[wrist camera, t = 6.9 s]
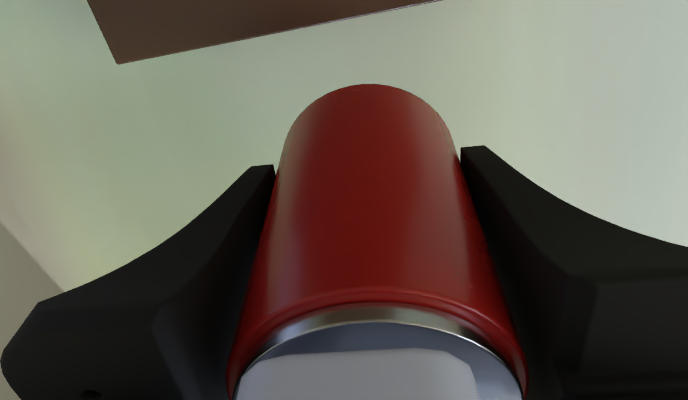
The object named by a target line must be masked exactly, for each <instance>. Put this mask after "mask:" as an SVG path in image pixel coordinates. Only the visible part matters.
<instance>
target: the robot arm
mask: <svg viewBox="0 0 688 400" xmlns="http://www.w3.org/2000/svg"><path fill="white" fill-rule="evenodd" d="M460 164H461V167H462V170H463V173H464V176H465V179H466V182H467V185H468V188H469V191H470V194H471V197H472V200H473V202H474V205H475V208H476V211H477V214H478V217H479V220H480V223H481V226H482V229H483V232H484V235H485V238H486V241H487V244H488V247H489V250H490V253H491V256H492V259H493V262H494V265H495V268H496V270H497V273H498V276H499V279H500V282H501V285H502V288H503V291H504V294H505V297H506V300H507V303H508V306H509V309H510V312H511V315H512V318H513V321H514V324H515V327H516V330H517V333H518V335H519V338H520V341H521V344H522V347H523V350H524V353H525V356H526V359H527V362H528V366H529V375H530V379H529V388H528V394H527V397H526V400H688V247H685V246H681V245H677V244H673V243H669V242H666V241H662V240H659V239H656V238H652V237H649V236H646V235H643V234H640V233H637V232H634V231H631V230H628V229H625V228H622V227H620V226H617V225H615V224H612V223H610V222H607V221H605V220H602V219H600V218H597V217H595V216H593V215H591V214H588V213H586V212H584V211H582V210H580V209H578V208H576V207H574V206H572V205H570V204H568V203H566V202H565V201H563V200H561V199H559V198H557V197H556V196H554V195H552V194H551V193H549V192H548V191H546V190H544V189H543V188H541V187H540V186H538V185H537V184H535V183H534V182H532V181H531V180H529V179H528V178H526V177H525V176H524V175H522V174H521V173H519V172H518V171H517V170H515V169H514V168H513V167H511V166H510V165H509V164H508V163H506V162H505V161H504V160H502V159H501V158H500V157H499V156H497V155H496V154H495V153H494V152H492V151H491V150H490V149H488V148H487V147H486V146H484V145H483V146H472V147H461V156H460ZM275 177H276V175H275V170H274V166H273V164H272V165H261V166H251V167H250V168H249V169H248V170H247V171H245V172H244V173H243V174H242V175H241V176H240V177H239V178H238V179H237V180H236V181H235V182H234V183H233V184H232V185H231V186H230V187H229V188H228V189H227V190H226V191H225V192H224V193H223V194H222V195H221V196H220V197H219V198H218V199H216V200H215V201H214V202H213V203H212V204H211V205H210V206H209V207H208V208H206V209H205V210H204V211H203V212H202V213H201V214H199V215H198V216H197V217H196V218H195V219H194V220H192V221H191V222H190V223H189V224H188V225H186V226H185V227H184V228H182V229H181V230H180V231H178V232H177V233H176V234H174V235H173V236H171V237H170V238H169V239H167V240H166V241H164V242H163V243H161V244H160V245H158V246H157V247H155V248H153V249H152V250H150V251H148V252H147V253H145V254H143V255H141V256H140V257H138V258H136V259H135V260H133V261H131V262H130V263H128V264H126V265H124V266H122V267H120V268H118V269H116V270H114V271H112V272H110V273H108V274H106V275H104V276H102V277H100V278H98V279H95V280H93V281H91V282H89V283H87V284H84V285H82V286H80V287H77V288H74V289H72V290H69V291H67V292H64V293H62V294H59V295H57V296H54V297H52V298H49V299H46V300H43V301H41V302H38V303H37V305H36V306H35V307H34V309H33V310H32V311H31V313H30V314H29V316H28V317H27V318H26V320H25V321H24V323H23V324H22V325H21V327H20V328H19V330H18V331H17V332H16V334H15V335H14V336H13V338H12V339H11V340H10V342H9V343H8V345H7V346H6V347H5V349H4V350H3V353H2V356H1V360H0V363H1V368H2V373H3V375H4V377H5V378H6V380H7V382H8V383H9V385H10V386H11V388H12V389H13V390H14V391H15V393H16V394H17V395H18V396H19V398H21V400H229V398H228V394H227V390H226V386H225V371H226V366H227V360H228V357H229V353H230V349H231V345H232V341H233V338H234V334H235V330H236V326H237V322H238V318H239V315H240V311H241V307H242V303H243V299H244V296H245V292H246V288H247V284H248V280H249V276H250V273H251V269H252V265H253V261H254V257H255V254H256V250H257V246H258V242H259V238H260V234H261V231H262V227H263V223H264V219H265V215H266V212H267V208H268V204H269V200H270V196H271V192H272V189H273V185H274V181H275ZM236 400H480V397H479V392H478V388H477V384H476V381H475V378H474V376H473V373H472V371H471V368H470V366H469V365H468V364H467V363H465V362H463V361H462V360H460V359H458V358H456V357H455V356H453V355H451V354H450V353H448V352H445V351H441V350H433V349H424V348H400V349H382V350H364V351H346V352H328V353H310V354H292V355H284V356H280V357H276V358H272V359H268V360H263V361H260V362H258V363H257V364H255V365H254V366H253V367H252V368H251V369H250V370H249V371H248V372H247V373H245V374H244V375H243V376H242V377H241V382H240V386H239V391H238V395H237V399H236Z"/></svg>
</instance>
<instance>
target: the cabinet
mask: <svg viewBox="0 0 688 400" xmlns="http://www.w3.org/2000/svg"><path fill="white" fill-rule="evenodd" d="M436 1H441V0H87V2H88V4H89V6H90V8H91V10H92V12H93V14H94V16H95V19H96V21H97V23H98V25H99V27H100V29H101V31H102V34H103V36H104V38H105V40H106V42H107V44H108V46H109V49H110V51H111V53H112V55H113V57H114V59H115V61H116V63H117V64H124V63H129V62H134V61H139V60H144V59H149V58H154V57H159V56H164V55H169V54H174V53H179V52H184V51H189V50H195V49H200V48H205V47H210V46H215V45H220V44H225V43H230V42H235V41H240V40H245V39H250V38H255V37H260V36H265V35H270V34H275V33H280V32H285V31H290V30H295V29H300V28H305V27H310V26H315V25H320V24H325V23H330V22H335V21H340V20H346V19H351V18H356V17H361V16H366V15H371V14H376V13H381V12H386V11H391V10H396V9H401V8H406V7H411V6H416V5H421V4H426V3H431V2H436Z"/></svg>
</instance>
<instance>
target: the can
mask: <svg viewBox="0 0 688 400" xmlns="http://www.w3.org/2000/svg"><path fill="white" fill-rule="evenodd" d="M400 348H424V349H433V350H441V351H445V352H448V353H450V354H451V355H453V356H455V357H456V358H458V359H460V360H462V361H463V362H465V363H467V364H468V365H469V366H470V368H471V371H472V373H473V376H474V378H475V381H476V384H477V388H478V392H479V397H480V400H526V397H527V394H528V388H529V379H530V375H529V366H528V362H527V359H526V356H525V353H524V350H523V347H522V344H521V341H520V338H519V335H518V333H517V330H516V327H515V324H514V321H513V318H512V315H511V312H510V309H509V306H508V303H507V300H506V297H505V294H504V291H503V288H502V285H501V282H500V279H499V276H498V273H497V270H496V268H495V265H494V262H493V259H492V256H491V253H490V250H489V247H488V244H487V241H486V238H485V235H484V232H483V229H482V226H481V223H480V220H479V217H478V214H477V211H476V208H475V205H474V202H473V200H472V197H471V194H470V191H469V188H468V185H467V182H466V179H465V176H464V173H463V170H462V167H461V164H460V161H459V158H458V155H457V152H456V149H455V146H454V143H453V140H452V138H451V135H450V132H449V130H448V128H447V126H446V124H445V122H444V121H443V120H442V118H441V117H440V115H439V114H438V113H437V112H436V111H435V110H434V109H433V108H432V107H431V106H430V105H429V104H427V103H426V102H425V101H423V100H422V99H421V98H419V97H417V96H415V95H413V94H412V93H410V92H407V91H404V90H402V89H399V88H395V87H391V86H387V85H379V84H361V85H353V86H348V87H344V88H340V89H337V90H335V91H332V92H330V93H327V94H326V95H324V96H322V97H320V98H319V99H317V100H316V101H314V102H313V103H312V104H310V105H309V106H308V107H307V108H306V109H305V110H304V111H303V112H302V113H301V114H300V115H299V116H298V117H297V119H296V120H295V121H294V123H293V125H292V126H291V128H290V130H289V132H288V134H287V137H286V140H285V143H284V147H283V150H282V154H281V158H280V162H279V166H278V170H277V173H276V177H275V181H274V185H273V189H272V192H271V196H270V200H269V204H268V208H267V212H266V215H265V219H264V223H263V227H262V231H261V234H260V238H259V242H258V246H257V250H256V254H255V257H254V261H253V265H252V269H251V273H250V276H249V280H248V284H247V288H246V292H245V296H244V299H243V303H242V307H241V311H240V315H239V318H238V322H237V326H236V330H235V334H234V338H233V341H232V345H231V349H230V353H229V357H228V360H227V366H226V371H225V386H226V390H227V394H228V398H229V400H236V399H237V395H238V391H239V386H240V382H241V377H242V376H243V375H244V374H245V373H247V372H248V371H249V370H250V369H251V368H252V367H253V366H254V365H255V364H257V363H258V362H260V361H263V360H268V359H272V358H276V357H280V356H284V355H292V354H310V353H328V352H346V351H364V350H382V349H400Z"/></svg>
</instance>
